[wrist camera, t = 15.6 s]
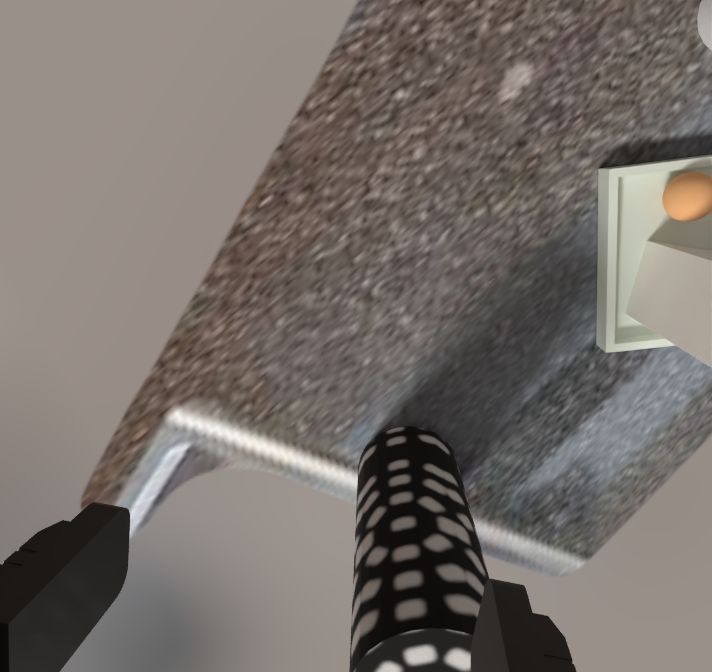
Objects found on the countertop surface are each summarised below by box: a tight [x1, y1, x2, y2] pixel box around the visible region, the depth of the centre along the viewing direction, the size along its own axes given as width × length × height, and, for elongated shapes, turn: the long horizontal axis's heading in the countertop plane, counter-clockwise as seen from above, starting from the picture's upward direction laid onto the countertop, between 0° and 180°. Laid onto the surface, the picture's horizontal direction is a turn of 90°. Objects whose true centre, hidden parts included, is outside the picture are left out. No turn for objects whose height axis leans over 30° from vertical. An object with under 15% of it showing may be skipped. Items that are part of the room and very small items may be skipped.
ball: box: [662, 172, 712, 222], centre depth 36 cm, size 3×3×3 cm
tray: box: [596, 154, 712, 353], centre depth 39 cm, size 13×10×2 cm
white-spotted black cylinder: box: [350, 427, 489, 672], centre depth 36 cm, size 8×8×20 cm
